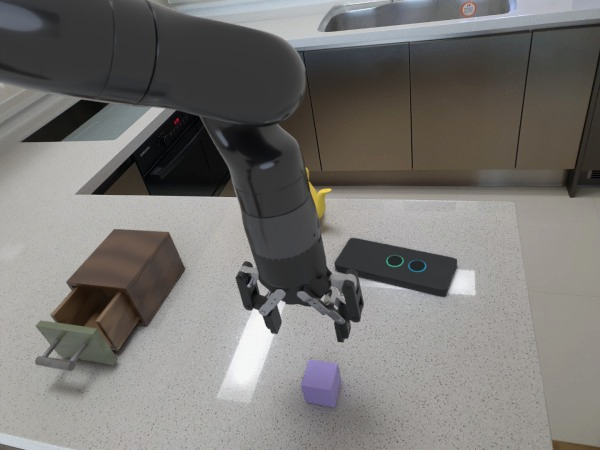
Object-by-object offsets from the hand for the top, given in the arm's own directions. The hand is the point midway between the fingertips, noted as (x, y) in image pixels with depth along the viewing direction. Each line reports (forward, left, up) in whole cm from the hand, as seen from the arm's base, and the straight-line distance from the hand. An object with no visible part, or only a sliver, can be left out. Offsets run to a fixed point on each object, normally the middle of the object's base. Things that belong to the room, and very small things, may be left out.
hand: (309, 332), depth 57 cm
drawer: (+16, +37, -12) cm, 42 cm away
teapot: (+42, +2, -13) cm, 44 cm away
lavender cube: (0, 0, -13) cm, 13 cm away
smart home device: (+22, -15, -13) cm, 30 cm away
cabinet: (+27, +33, -13) cm, 45 cm away
